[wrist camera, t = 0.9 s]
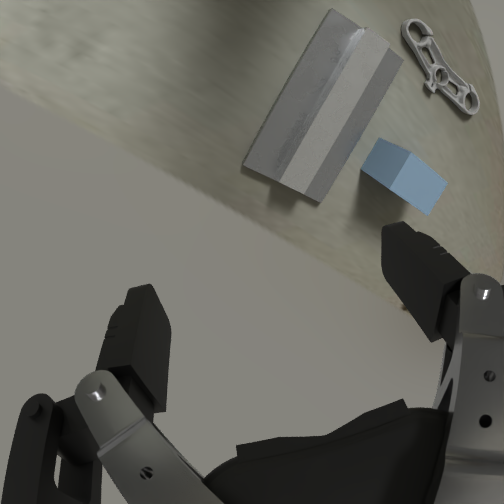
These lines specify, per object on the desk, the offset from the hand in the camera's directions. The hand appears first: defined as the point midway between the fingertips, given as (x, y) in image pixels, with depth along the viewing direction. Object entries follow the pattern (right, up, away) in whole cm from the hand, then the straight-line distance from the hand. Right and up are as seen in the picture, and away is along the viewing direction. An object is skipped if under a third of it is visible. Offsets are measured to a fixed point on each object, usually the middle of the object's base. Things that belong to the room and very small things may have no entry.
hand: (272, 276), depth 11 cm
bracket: (+23, +24, +20) cm, 38 cm away
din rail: (+7, +17, +21) cm, 28 cm away
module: (+16, +11, +25) cm, 32 cm away
